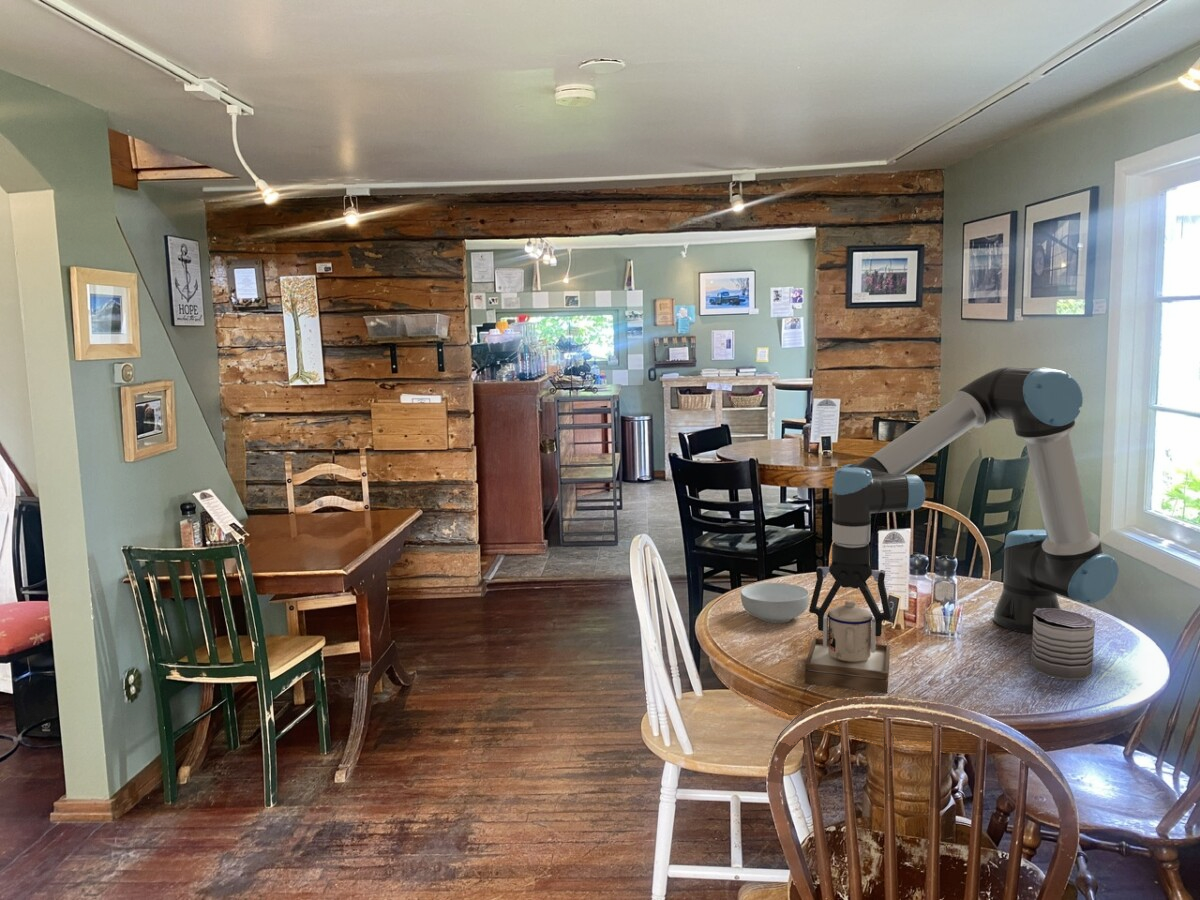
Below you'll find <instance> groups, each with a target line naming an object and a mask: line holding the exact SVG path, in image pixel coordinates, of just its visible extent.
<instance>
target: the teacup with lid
mask: <svg viewBox="0 0 1200 900" xmlns="http://www.w3.org/2000/svg"><path fill="white" fill-rule="evenodd" d="M827 614H828V652H829V654H830V655H831V656H832V657H834V658H836V659H839V660H843V661H850V662H857V661H864V660H866V659H868V658H869V657H870V655H871V631H872V618H874V616H873V614H872V612H870V611H869V610H868V609H865V608H863V607H860V606H859V605H857V604H856V602H855V601H854V600H850V599H848V600H845V603H844V604H842V605H839V606H835V607H832V608H830V609H829V610H828V612H827Z"/></svg>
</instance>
